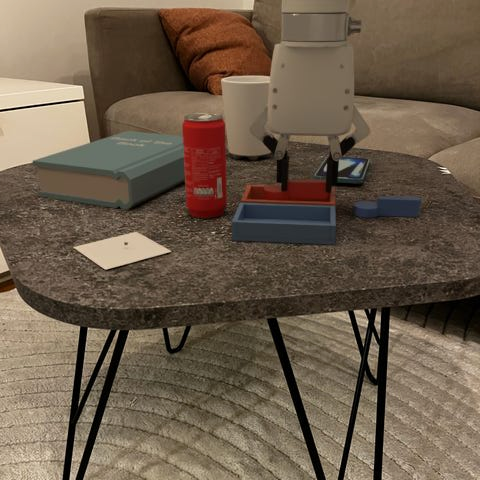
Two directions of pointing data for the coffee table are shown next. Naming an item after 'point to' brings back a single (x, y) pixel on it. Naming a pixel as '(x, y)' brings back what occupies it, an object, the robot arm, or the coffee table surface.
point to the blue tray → (284, 223)
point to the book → (114, 170)
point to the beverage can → (205, 164)
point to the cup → (245, 114)
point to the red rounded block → (297, 190)
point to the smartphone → (346, 170)
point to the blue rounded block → (388, 207)
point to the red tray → (257, 196)
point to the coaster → (121, 250)
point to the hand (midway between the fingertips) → (306, 187)
